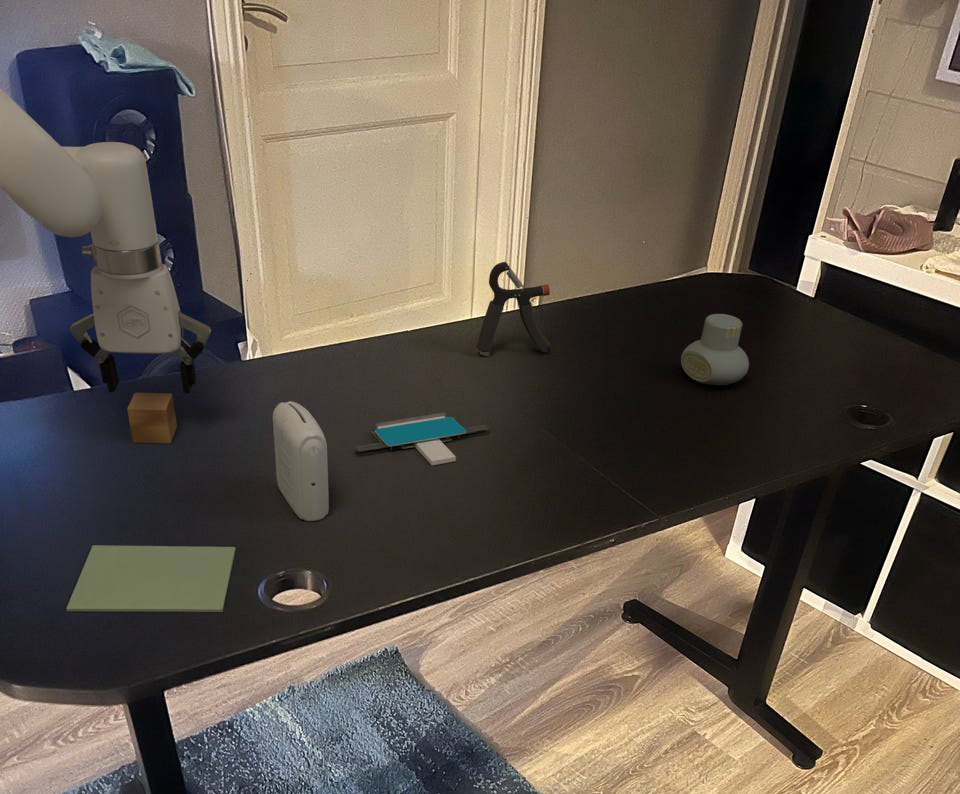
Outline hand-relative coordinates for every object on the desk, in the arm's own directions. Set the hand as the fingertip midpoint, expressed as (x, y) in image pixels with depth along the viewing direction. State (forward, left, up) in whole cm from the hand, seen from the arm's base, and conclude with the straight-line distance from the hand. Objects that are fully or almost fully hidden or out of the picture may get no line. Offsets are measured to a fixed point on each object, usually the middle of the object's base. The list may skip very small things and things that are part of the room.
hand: (151, 388), depth 129 cm
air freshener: (+85, +24, -7) cm, 88 cm away
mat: (+6, -34, -7) cm, 35 cm away
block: (0, 0, -7) cm, 7 cm away
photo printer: (+21, -17, -7) cm, 28 cm away
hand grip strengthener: (+53, +32, -7) cm, 62 cm away
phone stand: (+37, -1, -7) cm, 37 cm away
